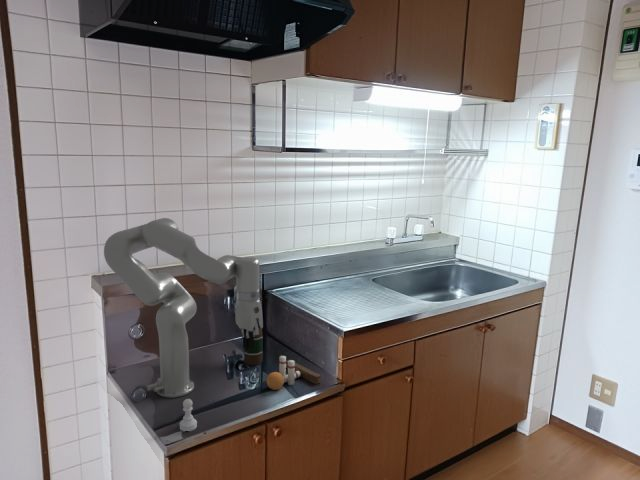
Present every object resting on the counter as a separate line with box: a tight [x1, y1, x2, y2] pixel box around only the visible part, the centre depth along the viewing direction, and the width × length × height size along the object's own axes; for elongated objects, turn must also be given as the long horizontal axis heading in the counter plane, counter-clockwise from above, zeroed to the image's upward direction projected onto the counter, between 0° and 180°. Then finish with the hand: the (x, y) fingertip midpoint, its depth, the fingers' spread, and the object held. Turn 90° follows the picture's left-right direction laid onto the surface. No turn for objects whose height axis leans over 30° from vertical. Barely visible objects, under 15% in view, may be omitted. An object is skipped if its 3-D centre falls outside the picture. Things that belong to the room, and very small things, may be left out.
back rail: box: [286, 359, 322, 385], centre depth 183 cm, size 2×18×3 cm, turn 42°
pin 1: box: [278, 355, 287, 376], centre depth 179 cm, size 2×2×8 cm
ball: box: [266, 371, 285, 391], centre depth 172 cm, size 6×6×6 cm
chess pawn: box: [179, 398, 198, 432], centre depth 146 cm, size 5×5×9 cm
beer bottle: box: [243, 328, 264, 366], centre depth 193 cm, size 8×8×24 cm
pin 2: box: [287, 359, 296, 386], centre depth 176 cm, size 2×2×8 cm
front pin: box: [283, 371, 301, 384], centre depth 179 cm, size 2×2×8 cm
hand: (248, 347), depth 165 cm, fingers closed
